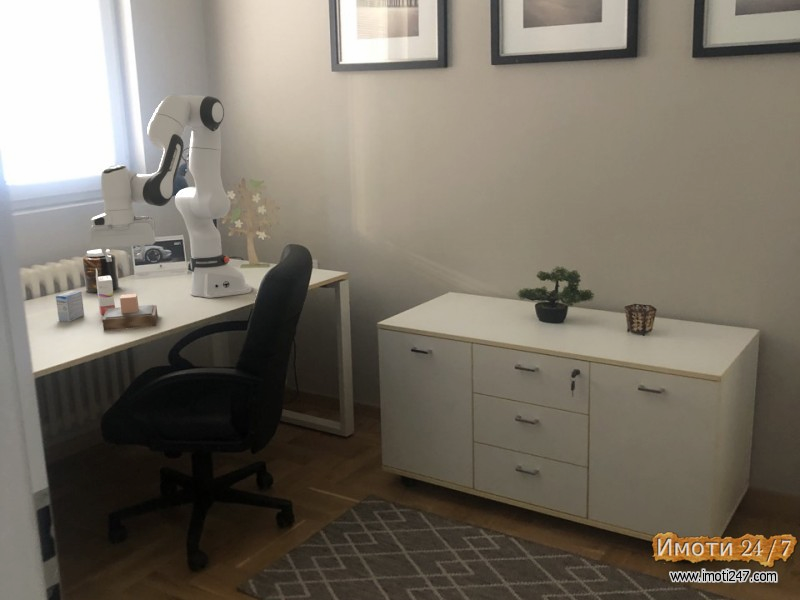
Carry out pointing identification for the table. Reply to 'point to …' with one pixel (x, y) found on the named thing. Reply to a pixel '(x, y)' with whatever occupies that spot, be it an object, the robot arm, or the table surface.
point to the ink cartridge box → (105, 292)
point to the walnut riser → (130, 318)
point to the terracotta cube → (129, 303)
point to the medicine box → (70, 306)
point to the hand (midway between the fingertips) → (124, 260)
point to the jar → (99, 269)
